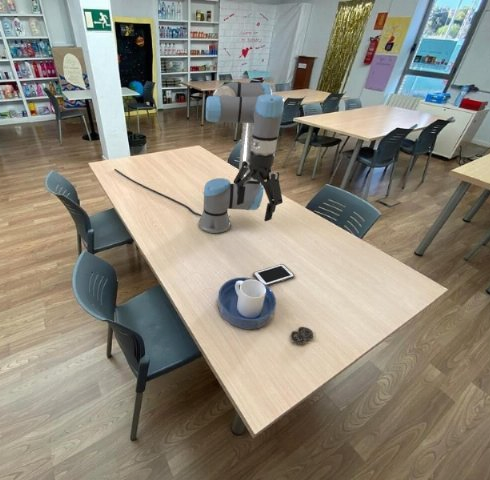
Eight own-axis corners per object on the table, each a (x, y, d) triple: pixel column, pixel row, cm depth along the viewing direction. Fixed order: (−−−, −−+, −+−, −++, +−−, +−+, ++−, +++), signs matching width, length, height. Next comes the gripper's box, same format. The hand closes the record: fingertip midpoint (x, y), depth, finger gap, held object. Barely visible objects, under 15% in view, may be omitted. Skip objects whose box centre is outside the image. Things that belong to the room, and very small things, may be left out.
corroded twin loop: (286, 336, 89) (286, 333, 88) (304, 326, 92) (305, 323, 91) (297, 348, 85) (298, 346, 84) (316, 337, 88) (317, 335, 88)
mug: (225, 299, 100) (227, 278, 94) (243, 290, 104) (246, 269, 98) (247, 323, 92) (251, 301, 86) (266, 312, 95) (271, 291, 89)
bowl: (206, 301, 100) (207, 291, 97) (245, 280, 109) (247, 270, 106) (244, 340, 87) (246, 330, 84) (285, 312, 96) (288, 302, 93)
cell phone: (252, 274, 111) (252, 272, 111) (282, 265, 116) (283, 263, 115) (263, 287, 106) (263, 285, 105) (294, 277, 110) (295, 275, 109)
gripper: (226, 143, 93) (222, 200, 105) (286, 167, 76) (273, 231, 89) (243, 139, 96) (237, 195, 109) (304, 161, 80) (288, 224, 92)
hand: (253, 211), depth 99 cm, fingers open, 13 cm apart
